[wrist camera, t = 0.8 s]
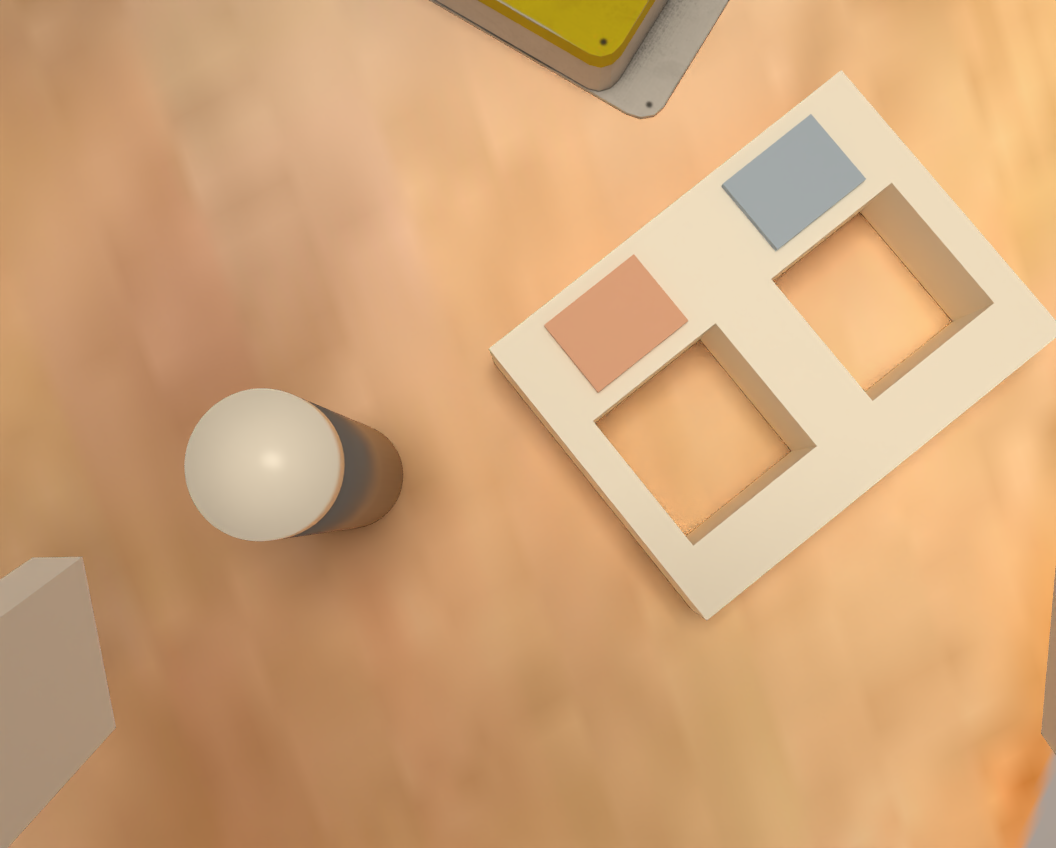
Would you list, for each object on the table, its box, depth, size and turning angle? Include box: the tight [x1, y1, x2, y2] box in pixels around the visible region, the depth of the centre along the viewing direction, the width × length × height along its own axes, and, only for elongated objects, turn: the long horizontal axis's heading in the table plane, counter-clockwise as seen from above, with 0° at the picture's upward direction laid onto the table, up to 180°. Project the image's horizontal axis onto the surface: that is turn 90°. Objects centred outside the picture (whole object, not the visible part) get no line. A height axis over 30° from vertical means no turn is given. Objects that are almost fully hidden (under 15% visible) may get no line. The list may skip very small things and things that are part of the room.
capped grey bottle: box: [184, 388, 403, 541], centre depth 32 cm, size 4×4×12 cm
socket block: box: [489, 70, 1056, 620], centre depth 36 cm, size 12×16×4 cm
